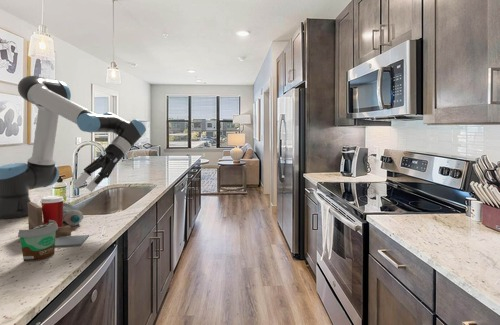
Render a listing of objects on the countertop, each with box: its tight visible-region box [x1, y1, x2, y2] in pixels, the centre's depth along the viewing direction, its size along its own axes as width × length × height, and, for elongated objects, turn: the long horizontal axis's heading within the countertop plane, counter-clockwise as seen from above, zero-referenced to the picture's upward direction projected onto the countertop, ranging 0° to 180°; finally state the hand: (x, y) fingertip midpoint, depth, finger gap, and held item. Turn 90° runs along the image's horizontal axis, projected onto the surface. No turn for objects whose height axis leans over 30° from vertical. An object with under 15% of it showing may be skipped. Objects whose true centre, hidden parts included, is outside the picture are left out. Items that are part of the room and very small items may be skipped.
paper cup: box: [40, 195, 65, 227], centre depth 122 cm, size 8×8×14 cm
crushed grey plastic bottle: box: [63, 202, 84, 227], centre depth 139 cm, size 13×7×25 cm
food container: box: [17, 220, 58, 262], centre depth 100 cm, size 12×6×10 cm, turn 170°
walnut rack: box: [27, 201, 72, 239], centre depth 121 cm, size 10×13×12 cm
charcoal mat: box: [55, 234, 90, 248], centre depth 114 cm, size 10×10×1 cm
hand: (81, 187), depth 129 cm, fingers open, 13 cm apart
